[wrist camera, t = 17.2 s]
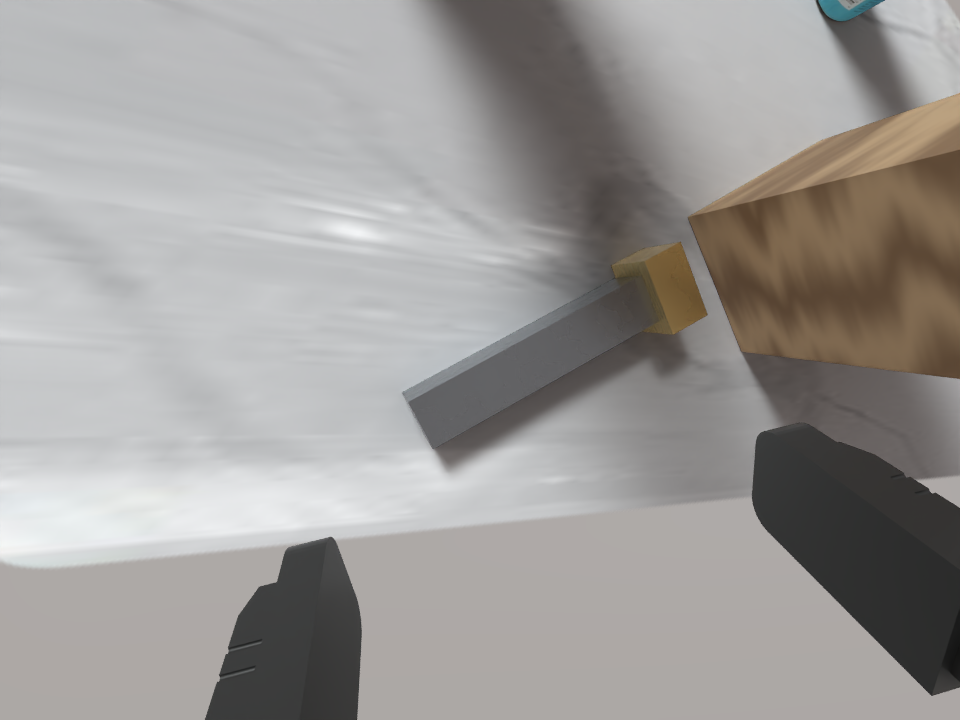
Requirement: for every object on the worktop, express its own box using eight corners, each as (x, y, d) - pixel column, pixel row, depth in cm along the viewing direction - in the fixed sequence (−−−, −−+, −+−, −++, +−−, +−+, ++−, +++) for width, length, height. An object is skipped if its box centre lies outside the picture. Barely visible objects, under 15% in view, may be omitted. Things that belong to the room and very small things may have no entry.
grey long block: (394, 379, 35) (402, 391, 30) (642, 248, 38) (680, 241, 34) (431, 447, 36) (442, 467, 31) (667, 313, 39) (707, 314, 35)
